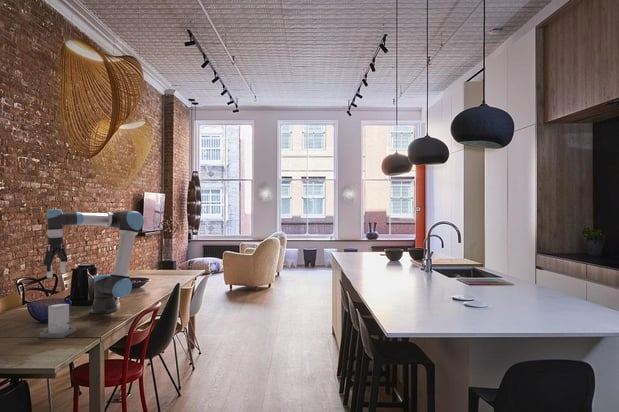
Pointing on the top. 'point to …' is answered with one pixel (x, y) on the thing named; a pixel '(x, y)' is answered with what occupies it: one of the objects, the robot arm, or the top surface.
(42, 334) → the tray
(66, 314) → the skincare box
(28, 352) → the top surface
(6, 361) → the top surface
